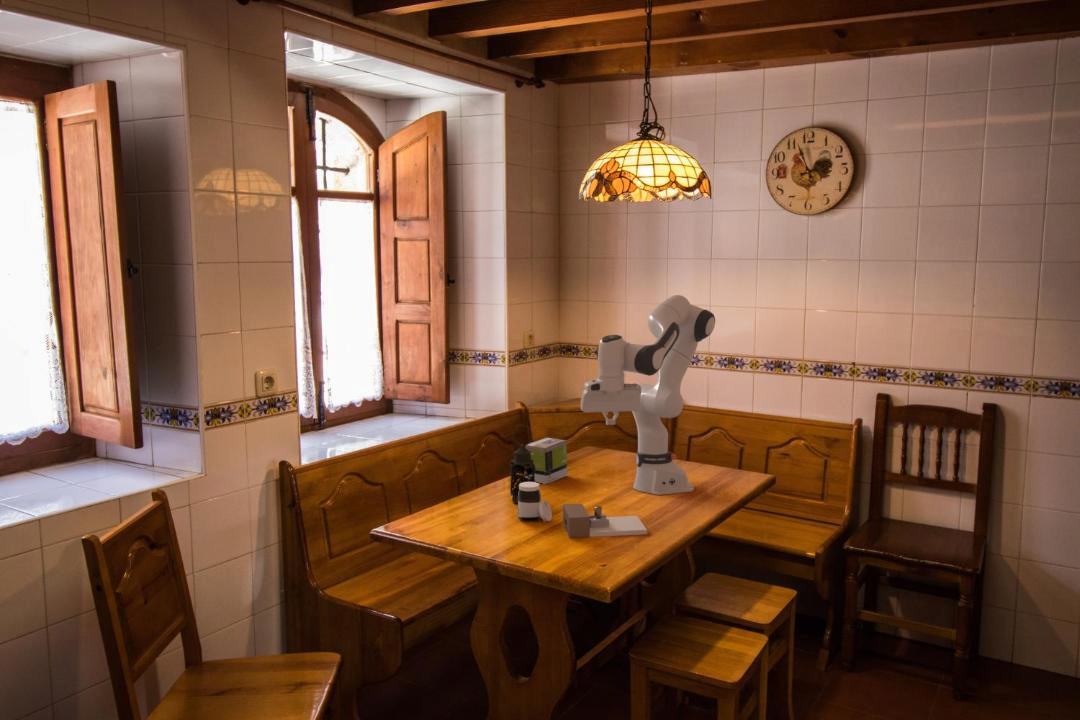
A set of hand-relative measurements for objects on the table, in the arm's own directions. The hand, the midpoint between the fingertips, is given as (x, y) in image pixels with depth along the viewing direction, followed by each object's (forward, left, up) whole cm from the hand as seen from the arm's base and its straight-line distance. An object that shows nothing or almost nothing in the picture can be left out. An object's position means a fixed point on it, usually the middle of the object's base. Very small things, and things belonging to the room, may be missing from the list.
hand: (610, 424), depth 291 cm
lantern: (+28, -18, -31) cm, 46 cm away
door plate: (+5, +15, -31) cm, 35 cm away
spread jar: (+26, +2, -31) cm, 41 cm away
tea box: (+16, -46, -31) cm, 58 cm away
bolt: (+10, +15, -29) cm, 35 cm away
